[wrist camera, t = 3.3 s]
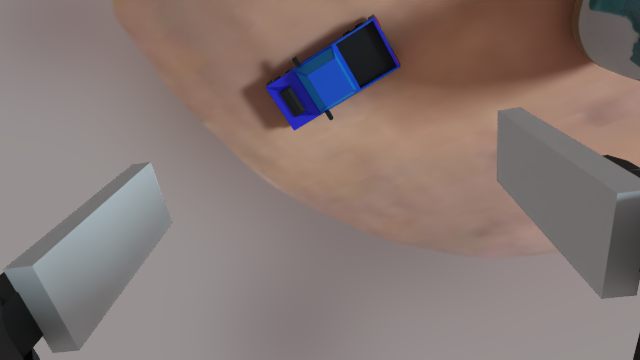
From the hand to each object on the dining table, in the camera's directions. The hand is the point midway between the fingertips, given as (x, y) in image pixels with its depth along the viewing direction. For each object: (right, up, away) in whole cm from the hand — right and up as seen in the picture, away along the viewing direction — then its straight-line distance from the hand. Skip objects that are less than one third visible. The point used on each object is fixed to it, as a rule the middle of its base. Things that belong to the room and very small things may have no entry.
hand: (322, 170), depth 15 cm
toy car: (+1, +11, +25) cm, 27 cm away
